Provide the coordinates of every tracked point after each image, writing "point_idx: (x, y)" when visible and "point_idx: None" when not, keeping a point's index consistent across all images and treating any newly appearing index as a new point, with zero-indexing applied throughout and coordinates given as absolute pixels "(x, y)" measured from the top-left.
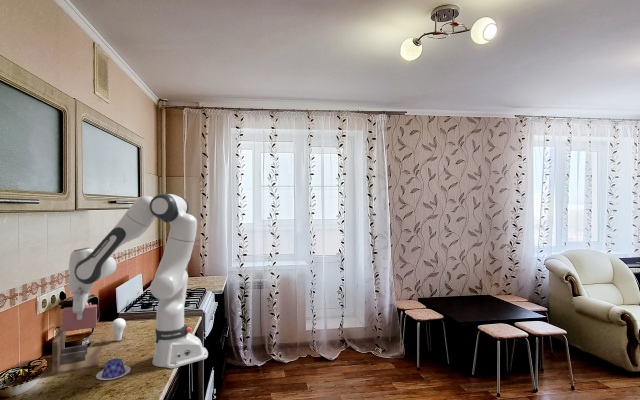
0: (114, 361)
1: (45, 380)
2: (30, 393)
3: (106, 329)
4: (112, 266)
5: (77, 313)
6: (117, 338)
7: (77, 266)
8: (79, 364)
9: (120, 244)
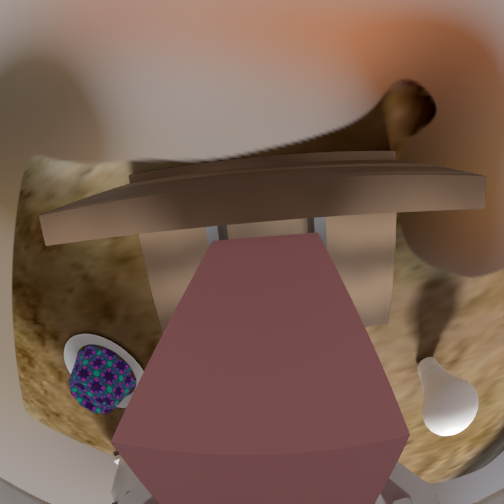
0: (95, 397)
1: (100, 171)
2: (29, 162)
3: None
4: None
5: (135, 493)
6: (421, 368)
7: None
8: (187, 275)
9: None
